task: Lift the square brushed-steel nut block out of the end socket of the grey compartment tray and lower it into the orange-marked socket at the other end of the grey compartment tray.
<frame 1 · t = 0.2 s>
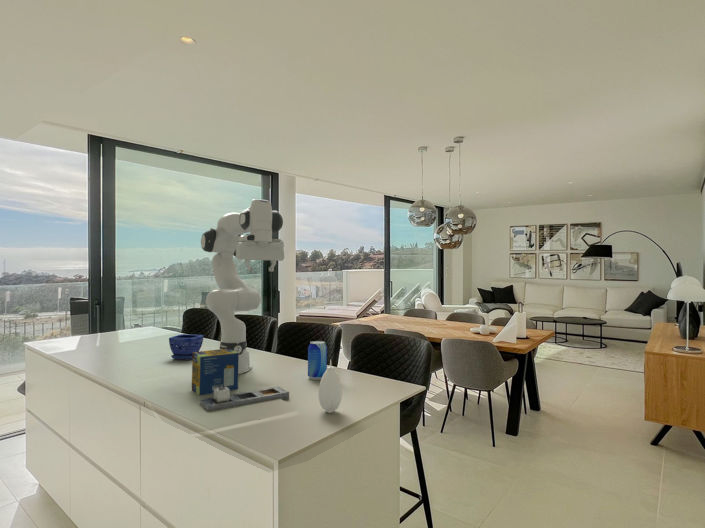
hand: (260, 271, 169), 48 cm above the countertop, tool pointing down, fingers open, 8 cm apart
sauce bottle: (329, 412, 140), on the countertop
protein box: (214, 392, 162), on the countertop
grey compartment tray: (246, 402, 148), on the countertop
nut block: (221, 404, 143), point 1 cm above the countertop, touching grey compartment tray
flower pot: (186, 358, 220), on the countertop
beer can: (317, 378, 183), on the countertop
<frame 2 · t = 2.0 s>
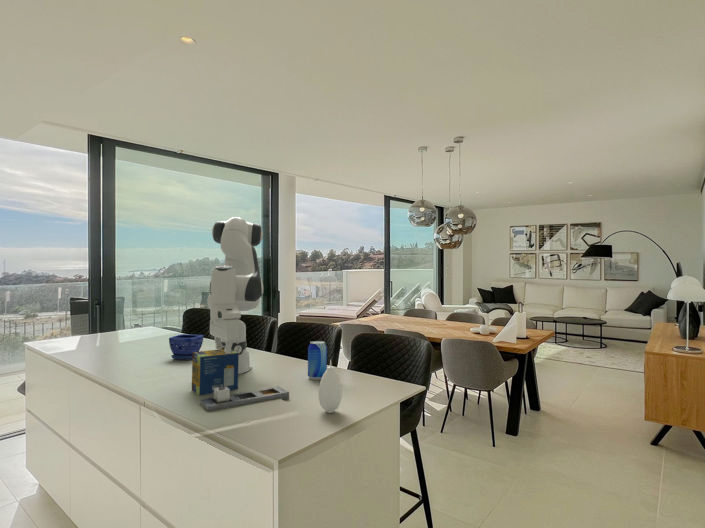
hand: (223, 351, 143), 20 cm above the countertop, tool pointing down, fingers open, 8 cm apart
nothing on the countertop moved.
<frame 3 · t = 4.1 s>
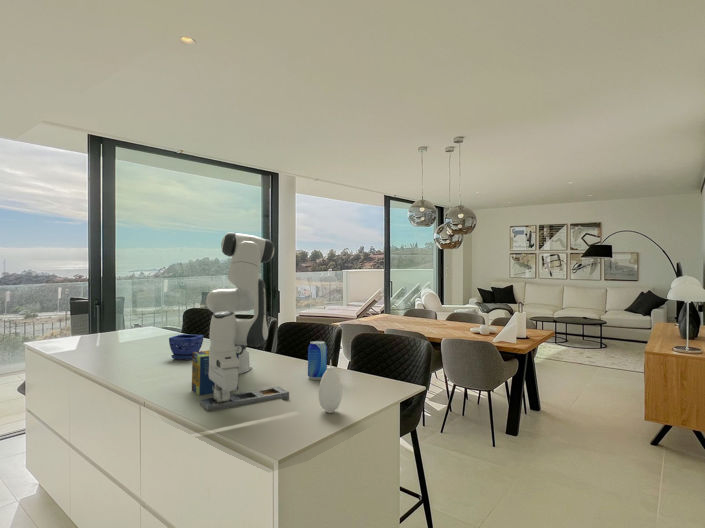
hand: (221, 397, 143), 3 cm above the countertop, tool pointing down, fingers closed on nut block, 4 cm apart
nut block: (221, 404, 143), point 1 cm above the countertop, touching gripper, grey compartment tray
everything else where it was.
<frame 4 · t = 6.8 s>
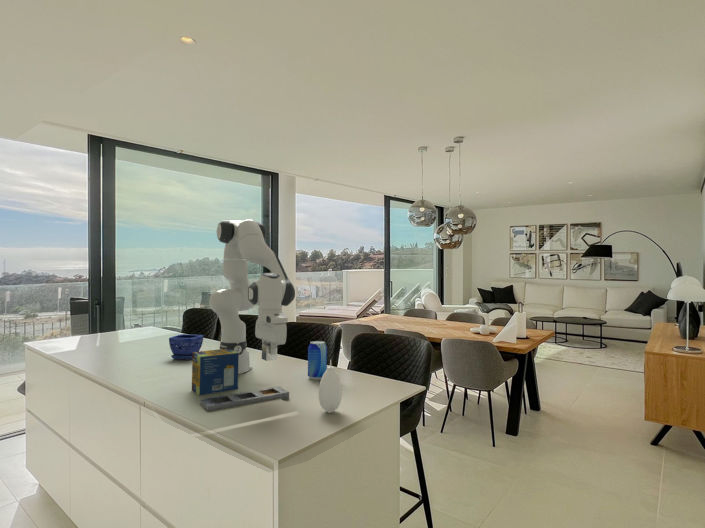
hand: (269, 353, 154), 17 cm above the countertop, tool pointing down, fingers closed on nut block, 4 cm apart
nut block: (269, 359, 154), point 15 cm above the countertop, touching gripper
everything else where it was.
when the fingers open (4 cm above the countertop, at t = 9.6 s): nut block stays where it is, resting on grey compartment tray.
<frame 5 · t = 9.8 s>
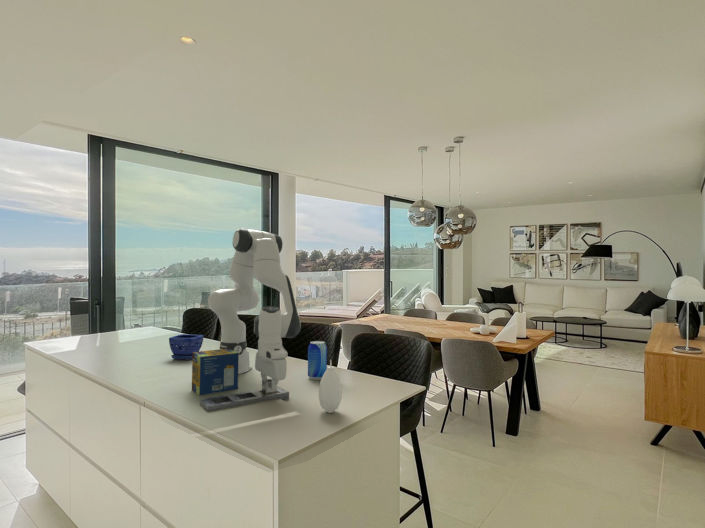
hand: (269, 386, 154), 4 cm above the countertop, tool pointing down, fingers open, 6 cm apart
nut block: (269, 395, 154), point 1 cm above the countertop, touching grey compartment tray
everything else where it was.
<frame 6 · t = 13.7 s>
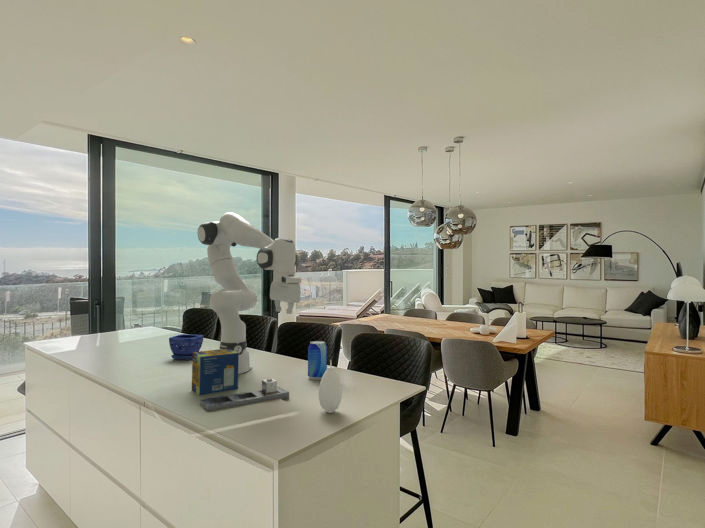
hand: (283, 312, 165), 31 cm above the countertop, tool pointing down, fingers open, 8 cm apart
nothing on the countertop moved.
at the end: nut block 0.1 cm from the target spot on the grey compartment tray, point 1.2 cm above the grey compartment tray's base; nut block tilted 0°; the gripper is holding nothing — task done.
